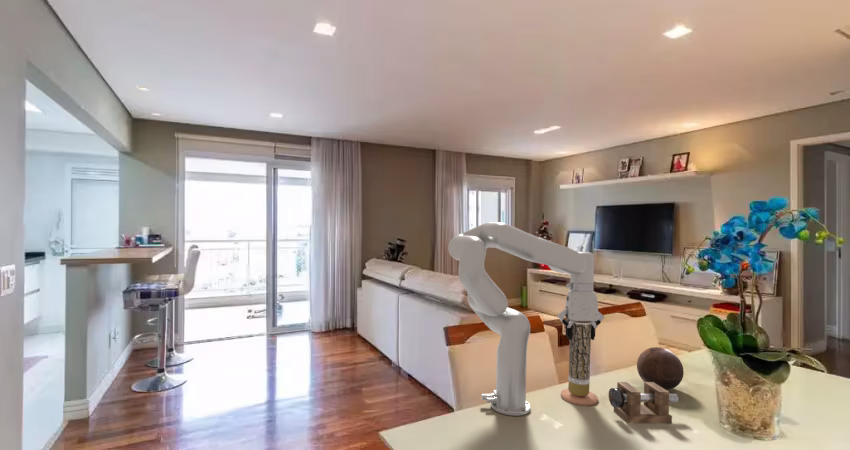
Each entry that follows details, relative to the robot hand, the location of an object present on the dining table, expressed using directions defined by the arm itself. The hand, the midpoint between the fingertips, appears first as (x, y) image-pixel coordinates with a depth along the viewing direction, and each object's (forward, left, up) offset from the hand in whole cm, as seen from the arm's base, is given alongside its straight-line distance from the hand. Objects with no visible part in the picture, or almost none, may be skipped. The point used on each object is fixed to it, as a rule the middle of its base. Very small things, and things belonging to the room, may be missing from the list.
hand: (580, 338), depth 142 cm
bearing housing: (+14, -14, -21) cm, 29 cm away
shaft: (+15, -14, -17) cm, 27 cm away
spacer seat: (0, 0, -21) cm, 21 cm away
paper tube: (0, 0, -19) cm, 19 cm away
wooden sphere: (+34, +8, -21) cm, 41 cm away
